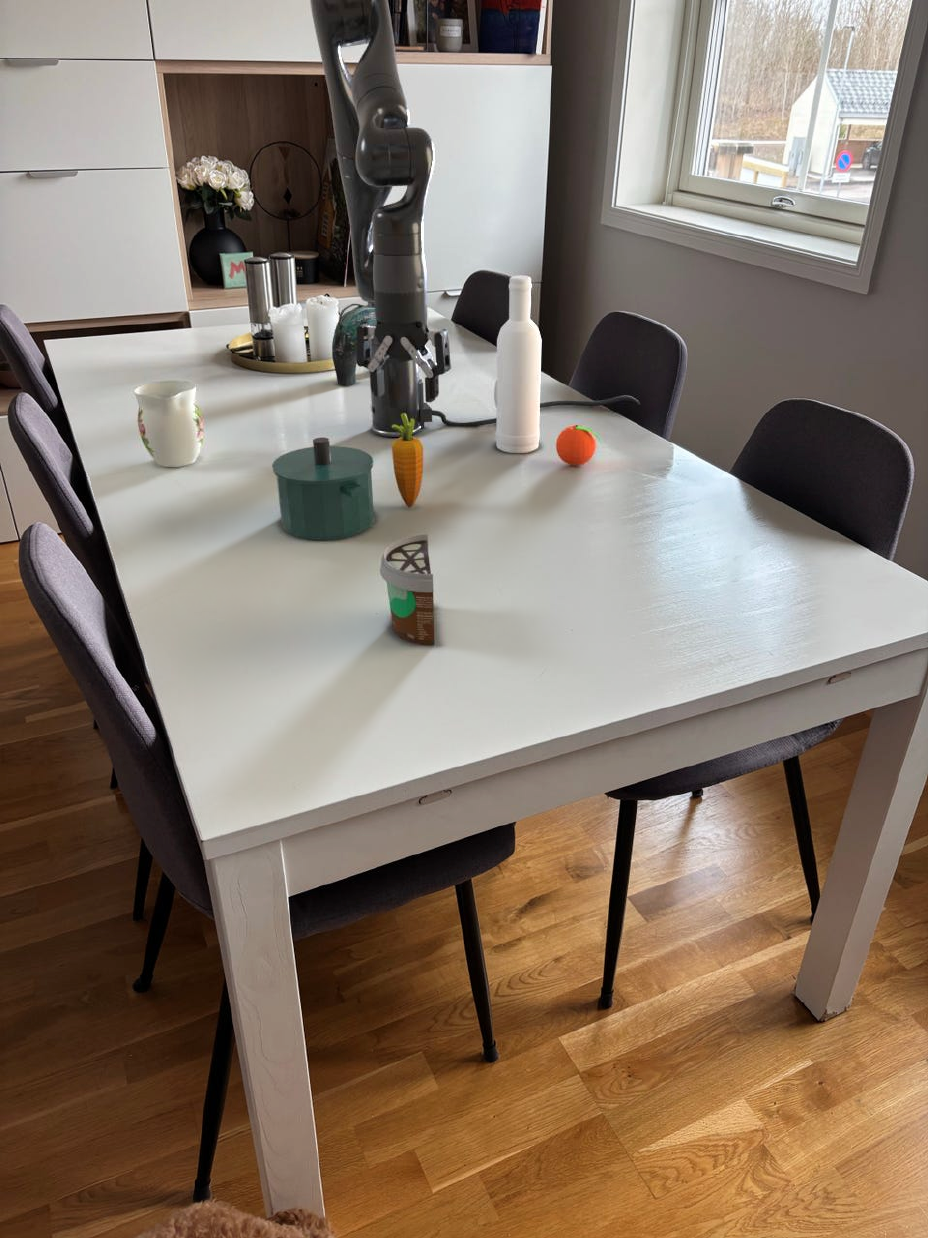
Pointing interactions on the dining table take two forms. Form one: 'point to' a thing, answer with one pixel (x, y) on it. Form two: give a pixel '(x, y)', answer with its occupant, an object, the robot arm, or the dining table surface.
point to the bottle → (518, 373)
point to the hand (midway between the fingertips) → (404, 398)
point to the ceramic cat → (349, 341)
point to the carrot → (407, 461)
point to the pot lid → (322, 464)
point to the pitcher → (170, 422)
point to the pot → (326, 508)
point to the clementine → (576, 445)
